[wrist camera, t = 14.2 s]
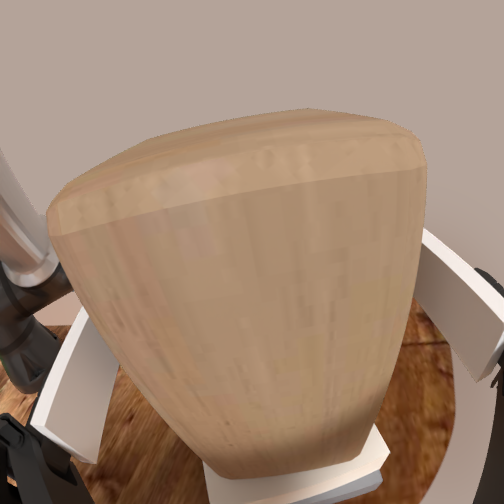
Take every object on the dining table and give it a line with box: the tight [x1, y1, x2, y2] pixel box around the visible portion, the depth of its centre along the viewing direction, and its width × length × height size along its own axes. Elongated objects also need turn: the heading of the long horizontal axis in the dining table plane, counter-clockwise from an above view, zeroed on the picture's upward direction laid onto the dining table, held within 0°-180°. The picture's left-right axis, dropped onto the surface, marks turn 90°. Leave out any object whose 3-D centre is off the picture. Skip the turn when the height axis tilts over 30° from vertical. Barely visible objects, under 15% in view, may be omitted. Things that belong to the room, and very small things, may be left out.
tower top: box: [202, 424, 390, 504], centre depth 21 cm, size 13×13×5 cm
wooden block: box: [46, 108, 427, 480], centre depth 14 cm, size 10×10×20 cm
